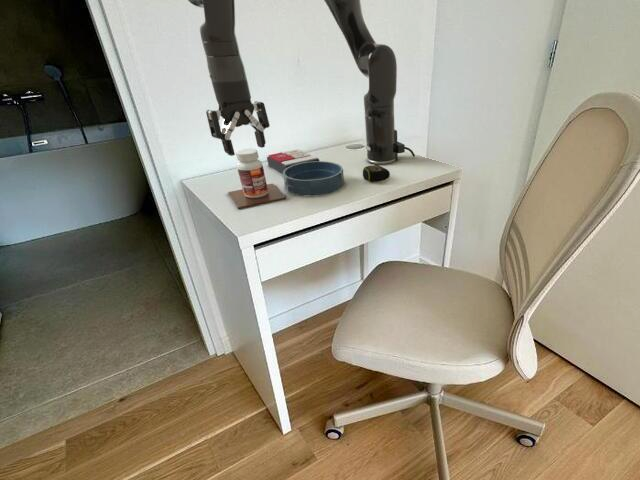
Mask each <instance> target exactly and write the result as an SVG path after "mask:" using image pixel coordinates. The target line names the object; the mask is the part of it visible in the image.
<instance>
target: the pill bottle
mask: <svg viewBox="0 0 640 480" xmlns="http://www.w3.org/2000/svg"><path fill="white" fill-rule="evenodd" d="M235 156H236V160H237V161H238V162H237V163H236V168H237V173H238V176H239V181H240V185H241V188H242V189H243V192H244V195H245V196H246V197H248V198H259V197H263V196H265V195H267V194H268V188H267V184H268V183H267V179H266V175H265V170H264V165H263V162H262V161H261V160H260V159H259V158H260V157H259V153H258V149H256V148H242V149H238V150H236V151H235Z"/></svg>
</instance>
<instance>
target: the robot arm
mask: <svg viewBox="0 0 640 480" xmlns="http://www.w3.org/2000/svg"><path fill="white" fill-rule="evenodd" d="M187 1H188V2H189V3H190V4H191V5H193V6H194V7H197V8H200V9H203V14H204V22H203V23H202V24H201V25H200V27H199V34H200V35H199V36H200V39H201V43H202V47H203V50H204V54H205V58H206V63H207V64H206V65H207V70H208V73H209V77H210V81H211V84H212V88H213V93H214V96H215V100H216V102H217V104H218V109H215V110H211V109H206V112H205V114H206V118H207V123H208V127H209V130H210V131H209V132H210V136H211V137H212V138H215V139H217V140H220V141H221V143H222V148H223V151H224V153H225V154H227V156H230V157H233V156H236V152H235V149H234V146H233V142H232V139H231V136H232V134H233V132H234V131H235V129H236V128H239V127H242V126H248V125H249V126H251V127H252V129H253V130H254V136H255V141H256V145H257V147H258V148H261V149H263V148H265V147H266V143H267V142H266V139H265V138H266V137H265V133H264V131H265V130H266V129H269V128H270V121H269V117H268V113H267V108H266V106H265V103H264V102H262V101H257V100H255V101H254V102H253V103H252V95H251V91H250V87H249V81H248V78H247V73H246V68H245V65H244V62H243V59H242V55H241V52H240V48H239V47H240V46H239V43H238V38H237V34H236V1H235V0H187ZM323 1H324V3H325V5H326V6H327V9H328V10H329V12H330V14H331V15H332V18H333V19H334V22H335V23H336V24H337V26H338V28H339V30H340V31H341V33H342V36H343V37H344V39H345V41H346V43H347V46H348V48H349V50H350V53H351V55H352V57H353V60H354V63H355V65H356V67H357V69H358V71H359V72H360V73H361V74H362V75H363V77H365V78H367V79H368V90H367V92H366V93H365V94H364V95H363V111H364V124H365V125H364V127H365V141H366V145H365V149H366V161H367V163H369V164H372V165H389V164H390V165H391V164H393V163H395V162H396V161H399V155H398V154H403V153H404V154H405V151H408V152H410V153H411V156H412V157H413V158H415V156H416V155H415V152H414V151H413V150H412V149H411V148H409V147H407V146H406V145H405V144H404V143H402V142H400V141H398V130H397V129H395V128H396V127H395V125H396V124H395V98H396V94H397V84H398V83H397V79H398V74H397V73H398V66H397V65H398V64H397V57H396V53H395V52H394V50H393V48H392V47H390V46H389V45H387V44H383V43H377V42H376V41H375V39H374V38H373V36H372V34H371V32H370V30H369V28H368V27H367V24H366V22H365V19H364V15H363V9H362V2H361V0H323ZM254 111H255V112H256V116H257V118H256V117H255V116H254V115H253V114H254ZM221 118H222V119H223V120H222V122H221V126H220V119H221Z"/></svg>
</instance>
